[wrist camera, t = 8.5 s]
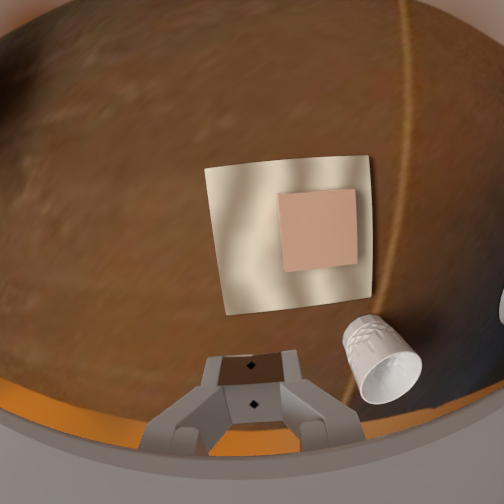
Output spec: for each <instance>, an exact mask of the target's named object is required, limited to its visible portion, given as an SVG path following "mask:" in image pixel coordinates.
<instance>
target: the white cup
mask: <svg viewBox="0 0 504 504" xmlns="http://www.w3.org/2000/svg"><path fill="white" fill-rule="evenodd" d="M342 343H343V346H344V348H345V351H346V354H347V359H348V361H349V365H350V367H351V370H352V372H353V375H354V378H355V380H356V383H357V386H358V388H359V391H360V394H361V396H362V398H363V399H364V400H365V401H366V402H368V403H371V404H383V403H387V402H390V401H393V400H395V399H397V398H399V397H400V396H402V395H403V394H405V393H406V392H407V391H408V390H409V389H410V388H411V387H412V386H413V385H414V384H415V382H416V381H417V379H418V378H419V376H420V373H421V369H422V361H421V358H420V357H419V356H418V354H417V353H416V352H415V351H414V350H413V349H412V348H411V347H410V346H409V345H408V344H407V342H406V341H405V340H404V339H403V338H402V337H401V336H400V335H399V334H398V333H397V332H396V331H395V330H394V329H393V328H392V327H391V326H389V325H388V324H387V323H386V322H385V321H384V320H383V319H382V318H381V317H380V316H378V315H371V314H368V315H365V316H361V317H359V318H357V319H356V320H354V321H353V322H352V323H350V324H349V326H348V327H347V329H346V330H345V332H344V335H343V341H342Z"/></svg>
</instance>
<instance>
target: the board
mask: <svg viewBox="0 0 504 504" xmlns="http://www.w3.org/2000/svg"><path fill="white" fill-rule="evenodd" d="M205 177H206V185H207V192H208V200H209V207H210V214H211V222H212V229H213V235H214V242H215V249H216V256H217V262H218V269H219V275H220V281H221V287H222V293H223V299H224V305H225V311H226V315H234V314H245V313H255V312H264V311H273V310H282V309H291V308H299V307H306V306H314V305H321V304H328V303H335V302H342V301H348V300H355V299H361V298H367V297H371V290H372V260H373V227H372V197H371V180H370V167H369V156H335V157H315V158H300V159H287V160H275V161H265V162H255V163H246V164H238V165H230V166H222V167H215V168H208V169H205ZM338 188H352V189H355V195H356V214H357V264H350V265H342V266H334V267H326V268H318V269H310V270H301V271H293V272H285V271H284V268H283V260H282V248H281V237H280V226H279V216H278V206H277V196H276V194H278V193H289V192H300V191H312V190H324V189H338Z"/></svg>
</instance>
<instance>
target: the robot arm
mask: <svg viewBox="0 0 504 504" xmlns="http://www.w3.org/2000/svg"><path fill="white" fill-rule="evenodd" d="M499 316H500V320H501V322H502V324H504V290H503V293H502V296H501V301H500V307H499ZM267 421H283V423H284V424H285V425H286V426H287V427H288V428H289V429H290V430H291V431H292V432H293V433H294V434H295V435H296V437H298V439H299V440H300V452H296V453H287V454H276V455H261V456H230V457H229V456H226V457H225V456H209V454H208V452H209V451H210V450H211V449H212V448H213V447H214V445H215V444H216V443H217V442H218V441H219V439H220V438H221V437H222V436H223V435H224V434H225V432H226V431H227V430H228V429H229V428H230V426H231V425H232V424H234V423H250V422H267ZM0 504H504V386H503V387H501V388H500V389H498V390H496V391H494V392H492V393H490V394H488V395H487V396H485V397H483V398H481V399H479V400H477V401H475V402H472V403H470V404H468V405H466V406H464V407H462V408H460V409H457V410H455V411H453V412H450V413H448V414H446V415H443V416H441V417H438V418H435V419H433V420H431V421H428V422H425V423H422V424H419V425H416V426H413V427H411V428H407V429H404V430H401V431H398V432H394V433H391V434H388V435H384V436H380V437H377V438H373V439H369V440H366V438H365V435H364V433H363V430H362V427H361V424H360V421H359V418H358V415H357V413H356V412H355V411H353V410H352V409H350V408H349V407H347V406H346V405H344V404H343V403H341V402H340V401H338V400H337V399H335V398H334V397H332V396H331V395H329V394H328V393H326V392H325V391H323V390H322V389H320V388H319V387H317V386H316V385H314V384H313V383H312V382H310V381H309V380H307V379H305V380H303V379H302V374H301V369H300V364H299V360H298V355H297V351H296V350H289V351H282V352H277V353H268V354H257V355H234V356H209V357H208V358H207V361H206V365H205V369H204V373H203V377H202V382H201V386H197V387H195V388H194V389H192V390H191V391H190V392H188V393H187V394H186V395H185V396H183V397H182V398H181V399H179V400H178V401H177V402H175V403H174V404H173V405H171V406H170V407H169V408H167V409H166V410H165V411H163V412H162V413H161V414H159V415H158V416H157V417H155V418H154V419H152V420H151V421H150V422H148V423H147V426H146V428H145V431H144V434H143V436H142V439H141V441H140V444H139V447H138V449H132V448H126V447H121V446H116V445H111V444H106V443H102V442H98V441H94V440H90V439H86V438H82V437H78V436H74V435H71V434H68V433H64V432H61V431H58V430H55V429H52V428H49V427H46V426H44V425H41V424H38V423H35V422H33V421H30V420H28V419H25V418H23V417H20V416H18V415H16V414H13V413H11V412H8V411H6V410H4V409H2V408H0Z"/></svg>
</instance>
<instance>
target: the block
mask: <svg viewBox="0 0 504 504" xmlns="http://www.w3.org/2000/svg"><path fill="white" fill-rule="evenodd" d="M276 196H277V206H278V216H279V226H280V237H281V248H282V260H283V268H284V271H285V272H293V271H301V270H310V269H318V268H326V267H334V266H342V265H350V264H357V214H356V195H355V189H352V188H338V189H324V190H312V191H300V192H289V193H278V194H276Z"/></svg>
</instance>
